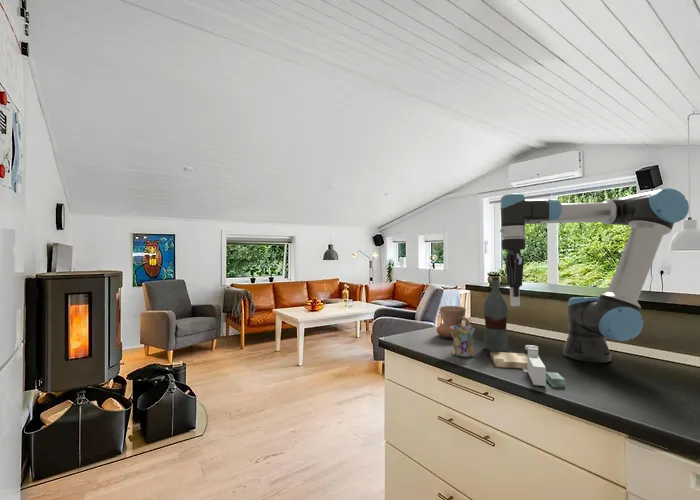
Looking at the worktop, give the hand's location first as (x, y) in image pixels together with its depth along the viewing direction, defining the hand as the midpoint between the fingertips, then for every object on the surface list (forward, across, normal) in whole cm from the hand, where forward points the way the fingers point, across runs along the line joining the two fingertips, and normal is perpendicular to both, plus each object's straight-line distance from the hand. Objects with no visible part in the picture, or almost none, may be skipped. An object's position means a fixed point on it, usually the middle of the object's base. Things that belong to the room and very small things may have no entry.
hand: (515, 305), depth 122 cm
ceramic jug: (+22, -42, -14) cm, 50 cm away
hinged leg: (+21, +10, +2) cm, 23 cm away
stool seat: (+22, +3, +1) cm, 22 cm away
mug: (+22, -14, -16) cm, 31 cm away
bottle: (+22, -24, 0) cm, 32 cm away
